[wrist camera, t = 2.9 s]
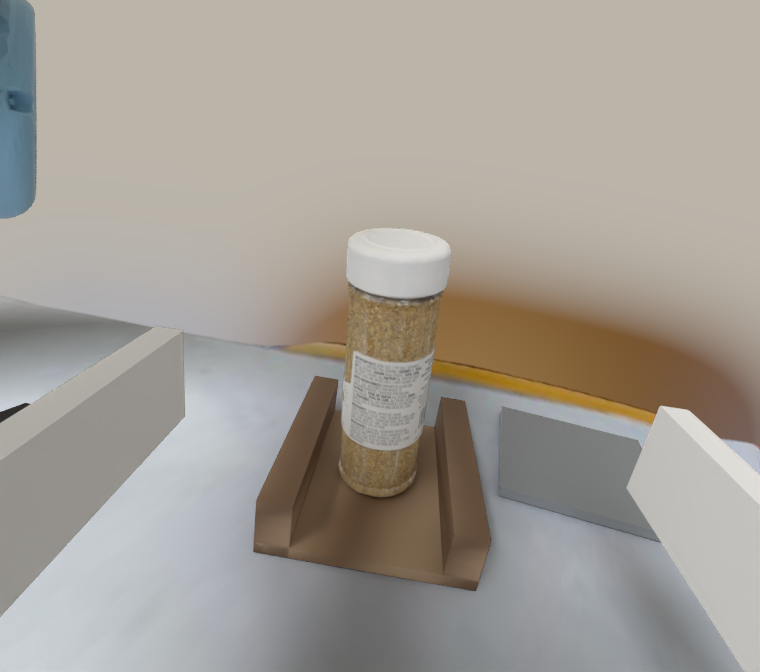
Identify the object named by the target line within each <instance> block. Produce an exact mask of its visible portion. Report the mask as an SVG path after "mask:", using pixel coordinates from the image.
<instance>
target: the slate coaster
mask: <svg viewBox="0 0 760 672" xmlns="http://www.w3.org/2000/svg"><path fill="white" fill-rule="evenodd" d="M641 451H642V448H641V446H640V444H639V442H638V440H634V439H630V438H626V437H622V436H618V435H614V434H610V433H606V432H602V431H598V430H594V429H590V428H586V427H582V426H578V425H574V424H570V423H566V422H562V421H558V420H554V419H550V418H546V417H542V416H538V415H534V414H530V413H526V412H522V411H518V410H514V409H510V408H506V407H502V409H501V412H500V448H499V496H501V497H505V498H508V499H512V500H515V501H519V502H522V503H526V504H529V505H533V506H536V507H540V508H543V509H547V510H550V511H554V512H557V513H561V514H564V515H568V516H571V517H575V518H578V519H582V520H585V521H589V522H592V523H596V524H599V525H603V526H606V527H610V528H613V529H617V530H620V531H624V532H627V533H631V534H634V535H638V536H641V537H645V538H648V539H652V540H655V541H659V542H661V541H660V540H659V538H658V537H657V535H656V534H655V532H654V530H653V529H652V527H651V526H650V524H649V523H648V521H647V519H646V518H645V516H644V515H643V513H642V512H641V510H640V509H639V507H638V505H637V504H636V502H635V501H634V499H633V498H632V496H631V495H630V493H629V491H628V490H627V488H626V487H627V485H628V483H629V480H630V478H631V475H632V473H633V470H634V468H635V466H636V463H637V461H638V458H639V456H640V453H641Z"/></svg>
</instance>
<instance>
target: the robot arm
mask: <svg viewBox="0 0 760 672" xmlns="http://www.w3.org/2000/svg"><path fill="white" fill-rule="evenodd" d="M35 196H36V34H35V13H34V9H33V7H32V6H31V4H30V3H29V2H28V1H26V0H0V219H1V218H2V219H3V218H4V219H5V218H12V217H16V216H17V215H20V214H23V213H24V212H26V211H27V210H28V209H29V208H30V207H31V206H32V204H33V202H34V200H35ZM184 417H185V391H184V342H183V330H178V329H171V328H165V327H159V326H155V327H154V328H152V329H151V330H149V331H147V332H146V333H144V334H142V335H141V336H139V337H138V338H136V339H134V340H133V341H131V342H130V343H128V344H126V345H125V346H123V347H122V348H120V349H118V350H117V351H115V352H114V353H112V354H110V355H109V356H107V357H106V358H104V359H102V360H101V361H99V362H98V363H96V364H94V365H93V366H91V367H89V368H88V369H86V370H85V371H83V372H81V373H80V374H78V375H77V376H75V377H73V378H72V379H70V380H69V381H67V382H65V383H64V384H62V385H61V386H59V387H57V388H56V389H54V390H53V391H51V392H49V393H48V394H46V395H45V396H43V397H41V398H40V399H38V400H36V401H35V402H33V403H32V404H28V403H24V404H21V405H19V406H16V407H13V408H10V409H7V410H5V411H2V412H0V617H1V616H2V615H3V614H4V613H5V611H6V610H7V609H8V608H9V607H10V606H11V605H12V604H13V603H14V602H15V601H16V599H17V598H18V597H19V596H20V595H21V594H22V593H23V592H24V591H25V590H26V589H27V587H28V586H29V585H30V584H31V583H32V582H33V581H34V580H35V579H36V578H37V577H38V576H39V574H40V573H41V572H42V571H43V570H44V569H45V568H46V567H47V566H48V565H49V564H50V562H51V561H52V560H53V559H54V558H55V557H56V556H57V555H58V554H59V553H60V552H61V551H62V549H63V548H64V547H65V546H66V545H67V544H68V543H69V542H70V541H71V540H72V539H73V537H74V536H75V535H76V534H77V533H78V532H79V531H80V530H81V529H82V528H83V527H84V526H85V524H86V523H87V522H88V521H89V520H90V519H91V518H92V517H93V516H94V515H95V514H96V512H97V511H98V510H99V509H100V508H101V507H102V506H103V505H104V504H105V503H106V502H107V501H108V499H109V498H110V497H111V496H112V495H113V494H114V493H115V492H116V491H117V490H118V489H119V487H120V486H121V485H122V484H123V483H124V482H125V481H126V480H127V479H128V478H129V477H130V476H131V474H132V473H133V472H134V471H135V470H136V469H137V468H138V467H139V466H140V465H141V464H142V462H143V461H144V460H145V459H146V458H147V457H148V456H149V455H150V454H151V453H152V452H153V450H154V449H155V448H156V447H157V446H158V445H159V444H160V443H161V442H162V441H163V440H164V439H165V437H166V436H167V435H168V434H169V433H170V432H171V431H172V430H173V429H174V428H175V427H176V425H177V424H178V423H179V422H180V421H181V420H182V419H183V418H184ZM626 488H627V490H628V491H629V493H630V495H631V496H632V498H633V499H634V501H635V502H636V504H637V505H638V507H639V509H640V510H641V512H642V513H643V515H644V516H645V518H646V519H647V521H648V523H649V524H650V526H651V527H652V529H653V530H654V532H655V534H656V535H657V537H658V538H659V540H660V541H661V543H662V544H663V546H664V548H665V549H666V551H667V552H668V554H669V555H670V557H671V558H672V560H673V562H674V563H675V565H676V566H677V568H678V569H679V571H680V572H681V574H682V576H683V577H684V579H685V580H686V582H687V583H688V585H689V586H690V588H691V590H692V591H693V593H694V594H695V596H696V597H697V599H698V601H699V602H700V604H701V605H702V607H703V608H704V610H705V611H706V613H707V615H708V616H709V618H710V619H711V621H712V622H713V624H714V625H715V627H716V629H717V630H718V632H719V633H720V635H721V636H722V638H723V639H724V641H725V643H726V644H727V646H728V647H729V649H730V650H731V652H732V654H733V655H734V657H735V658H736V660H737V661H738V663H739V664H740V666H741V668H742V669H743V671H744V672H760V475H759V474H758V473H757V472H756V471H755V470H754V469H753V468H751V467H750V466H749V465H748V464H747V463H746V462H745V461H744V460H743V459H742V458H741V457H739V456H738V455H737V454H736V453H735V452H734V451H733V450H732V449H731V448H730V447H728V446H727V445H726V444H725V443H724V442H723V441H722V440H721V439H720V438H719V437H718V436H716V435H715V434H714V433H713V432H712V431H711V430H710V429H709V428H707V426H705V425H704V424H703V423H702V422H701V421H700V420H699V419H698V418H697V417H696V416H694V415H693V414H692V413H691V412H690V411H689V410H684V409H678V408H672V407H665V406H660V407H659V410H658V412H657V415H656V417H655V419H654V422H653V424H652V427H651V429H650V432H649V434H648V436H647V439H646V441H645V444H644V446H643V449H642V451H641V453H640V456H639V458H638V461H637V463H636V466H635V468H634V470H633V473H632V475H631V478H630V480H629V483H628V485H627V487H626Z"/></svg>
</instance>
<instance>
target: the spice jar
mask: <svg viewBox="0 0 760 672" xmlns="http://www.w3.org/2000/svg"><path fill="white" fill-rule="evenodd" d="M450 259H451V248H450V247H449V245H448V243H447V242H445V241H444V240H443V239H441V238H439V237H436V236H434V235H431V234H428V233H425V232H421V231H415V230H409V229H400V228H376V229H368V230H363V231H360V232H358V233H355V234H354V235H353V236H351V237H350V239H349V241H348V247H347V264H346V277H347V279H348V281H349V282H348V286H349V306H348V320H347V322H348V325H347V343H346V358H345V373H344V377H343V394H342V416H341V423H342V444H341V455H340V458H339V464H338V467H339V471H340V474H341V477H342V478H343V480H344V481H345V482H346V483H347V484H348V485H349V486H350V487H351V488H353V489H354V490H355V491H357V492H359V493H362V494H366V495H369V496H374V497H390V496H394V495H397V494H399V493H401V492H403V491H405V490H406V489H407V488H408V487H410V486H411V485H412V484H413V482H414V479H415V477H416V474H417V462H416V460H417V452H418V445H419V438H420V435H421V433H422V430H423V424H424V417H425V411H426V404H427V397H428V390H429V383H430V376H431V370H432V363H433V357H434V351H435V343H434V340H435V333H436V329H437V320H438V314H439V305H440V299H441V297H442V294H443V290H444V288H445V287H446V286H447V281H448V275H449V268H450Z"/></svg>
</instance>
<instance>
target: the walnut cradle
mask: <svg viewBox="0 0 760 672" xmlns="http://www.w3.org/2000/svg"><path fill="white" fill-rule="evenodd" d="M337 387H338V380H336V379H331V378H325V377H319V376H315V377H314V379H313V381H312V383H311V386H310V388H309V390H308V392H307V394H306V396H305V398H304V400H303V403H302V405H301V407H300V409H299V411H298V413H297V415H296V417H295V419H294V422H293V424H292V426H291V428H290V430H289V432H288V434H287V436H286V439H285V441H284V443H283V445H282V447H281V449H280V451H279V453H278V455H277V458H276V460H275V462H274V464H273V466H272V468H271V470H270V472H269V475H268V477H267V479H266V481H265V483H264V485H263V487H262V489H261V491H260V494H259V496H258V498H257V500H256V515H255V533H254V551H253V552H257V553H262V554H268V555H274V556H279V557H285V558H291V559H296V560H302V561H308V562H313V563H319V564H325V565H331V566H336V567H342V568H348V569H353V570H359V571H365V572H370V573H376V574H382V575H387V576H393V577H399V578H405V579H410V580H416V581H422V582H427V583H433V584H439V585H444V586H450V587H456V588H461V589H467V590H473V591H476V588H477V585H478V582H479V579H480V575H481V572H482V569H483V566H484V563H485V560H486V556H487V553H488V550H489V547H490V544H491V537H490V532H489V526H488V521H487V516H486V510H485V505H484V500H483V494H482V489H481V484H480V478H479V473H478V468H477V462H476V457H475V452H474V446H473V441H472V436H471V431H470V425H469V420H468V415H467V409H466V404H465V401H462V400H456V399H450V398H444V397H441V401H440V405H439V410H438V414H437V419H436V423H435V427H430V426H424V425H423V430H422V433H421V435H420V438H419V445H418V452H417V460H416V462H417V474H416V477H415V479H414V482H413V484H412V485H411V486H410V487H408V488H407V489H406V490H405V491H403V492H401V493H399V494H397V495H394V496H390V497H374V496H369V495H366V494H362V493H359V492H357V491H355V490H354V489H353V488H351V487H350V486H349V485H348V484H347V483H346V482H345V481H344V480H343V478H342V477H341V474H340V471H339V467H338V464H339V458H340V455H341V444H342V423H341V416H342V412H341V411H336V410H335V403H336V395H337Z"/></svg>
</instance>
